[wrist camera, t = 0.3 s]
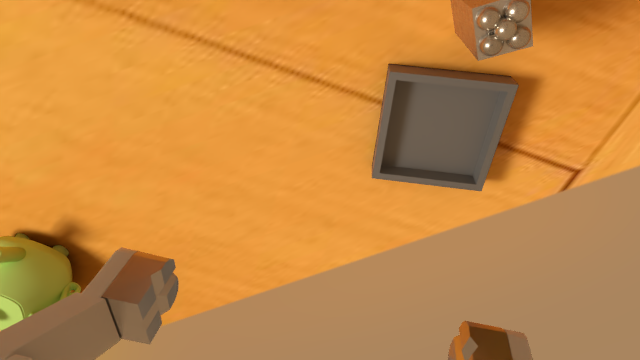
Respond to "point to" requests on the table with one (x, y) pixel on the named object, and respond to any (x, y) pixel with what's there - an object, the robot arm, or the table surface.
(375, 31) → the table surface
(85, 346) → the robot arm
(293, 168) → the table surface
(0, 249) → the teapot
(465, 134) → the charcoal bin
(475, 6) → the ball-topped square pillar
